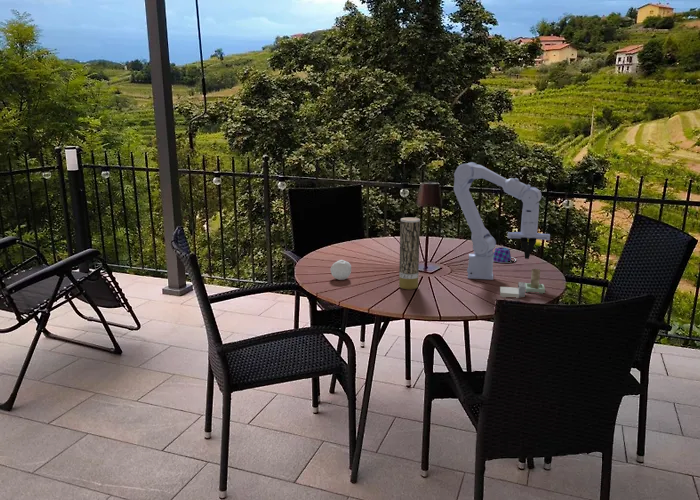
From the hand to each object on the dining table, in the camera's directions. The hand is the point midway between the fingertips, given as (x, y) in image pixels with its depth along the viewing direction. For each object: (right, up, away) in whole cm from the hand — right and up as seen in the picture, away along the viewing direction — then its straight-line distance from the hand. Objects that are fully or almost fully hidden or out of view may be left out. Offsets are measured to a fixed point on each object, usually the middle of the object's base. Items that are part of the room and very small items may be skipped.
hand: (526, 258), depth 202 cm
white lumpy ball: (-68, -8, +7) cm, 69 cm away
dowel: (+1, -11, -6) cm, 12 cm away
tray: (+1, -11, -6) cm, 13 cm away
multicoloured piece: (0, -2, +35) cm, 35 cm away
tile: (-10, -13, -10) cm, 19 cm away
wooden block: (-6, -13, -12) cm, 18 cm away
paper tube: (-44, -11, -3) cm, 45 cm away
